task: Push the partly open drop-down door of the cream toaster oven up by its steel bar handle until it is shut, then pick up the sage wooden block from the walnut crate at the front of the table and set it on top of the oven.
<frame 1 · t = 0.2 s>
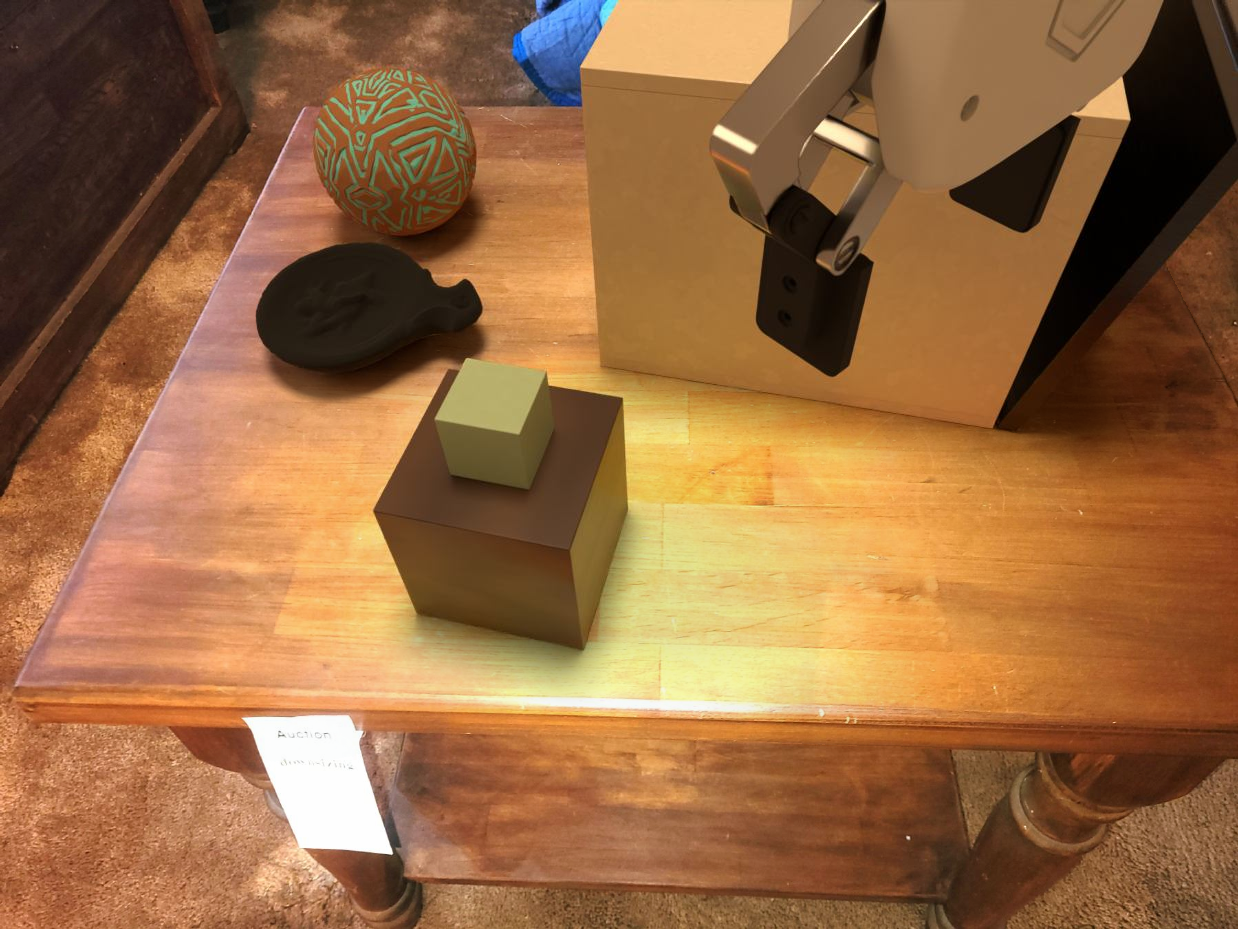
hand: (901, 276, 28), 34 cm above the table, tool pointing down, fingers open, 9 cm apart
oil lamp: (380, 340, 78), on the table
stand: (526, 558, 63), on the table
block: (503, 451, 53), point 12 cm above the table, touching stand
oven: (816, 247, 84), on the table
decorative sphere: (414, 222, 89), on the table
oven door: (1122, 160, 70), point 12 cm above the table, hinge at 12.1°
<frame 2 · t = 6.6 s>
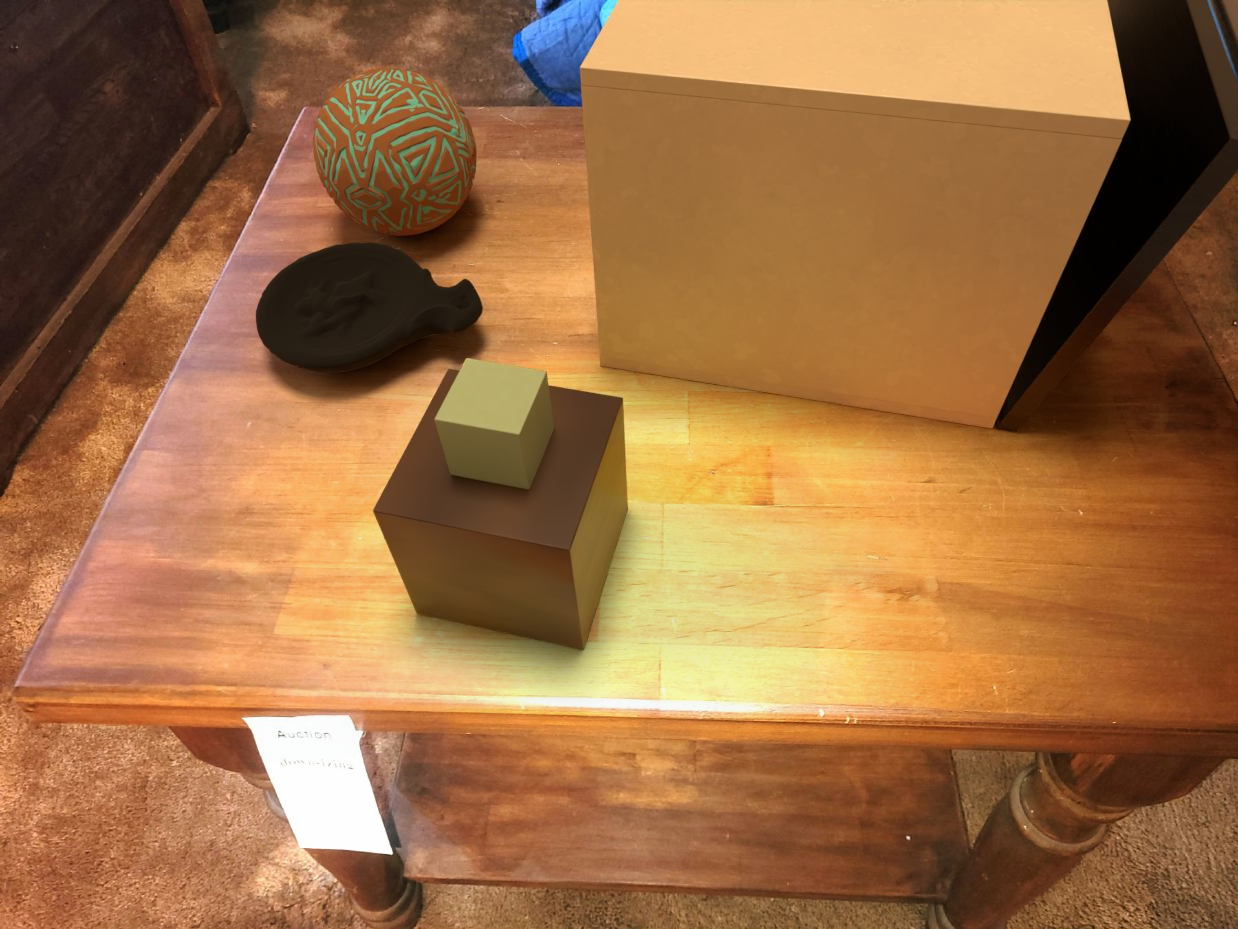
oven door: (1120, 159, 70), point 12 cm above the table, hinge at 11.2°, touching gripper
everything else where it was.
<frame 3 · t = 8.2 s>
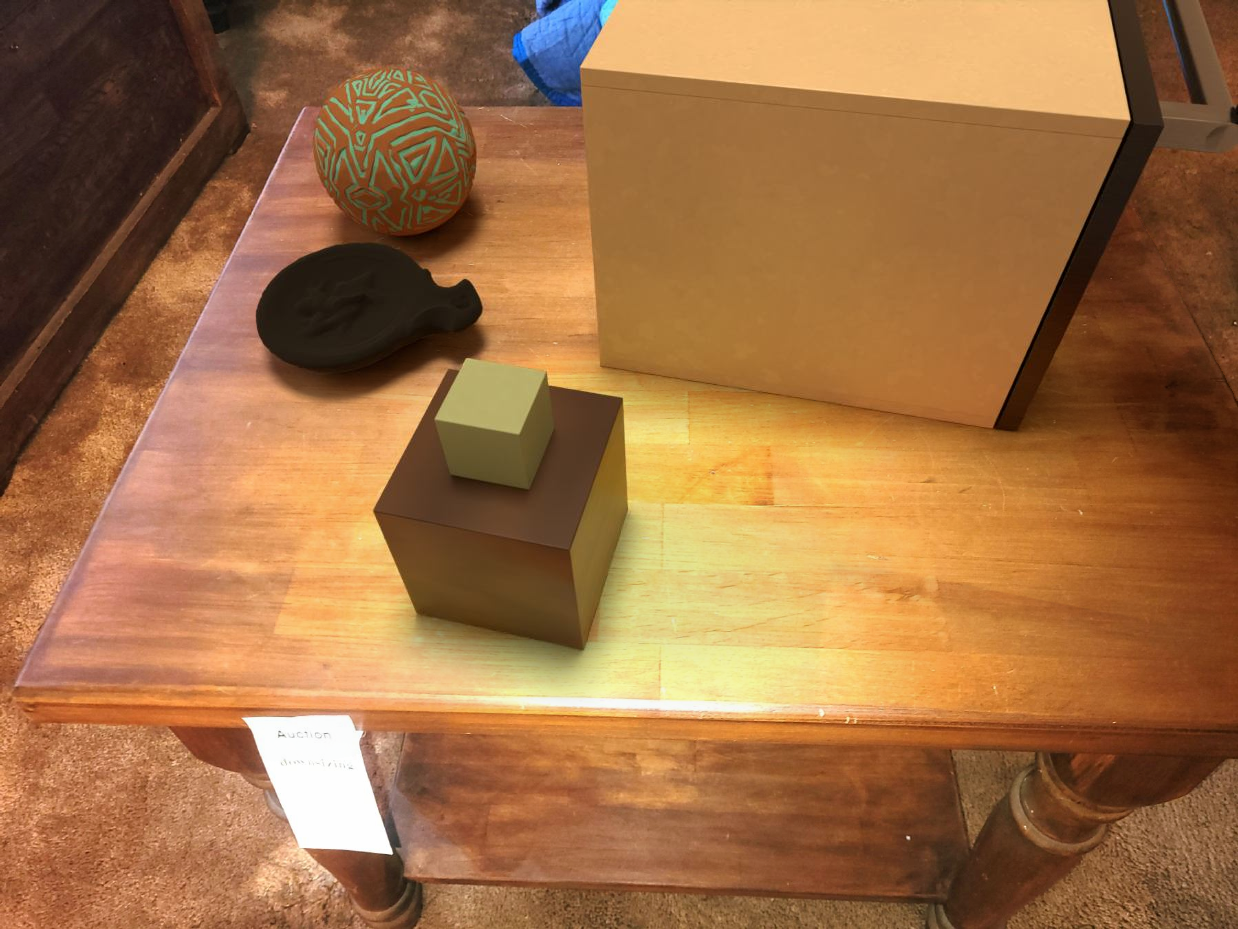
oven door: (1091, 146, 70), point 13 cm above the table, hinge at -0.1°, touching gripper
everything else where it was.
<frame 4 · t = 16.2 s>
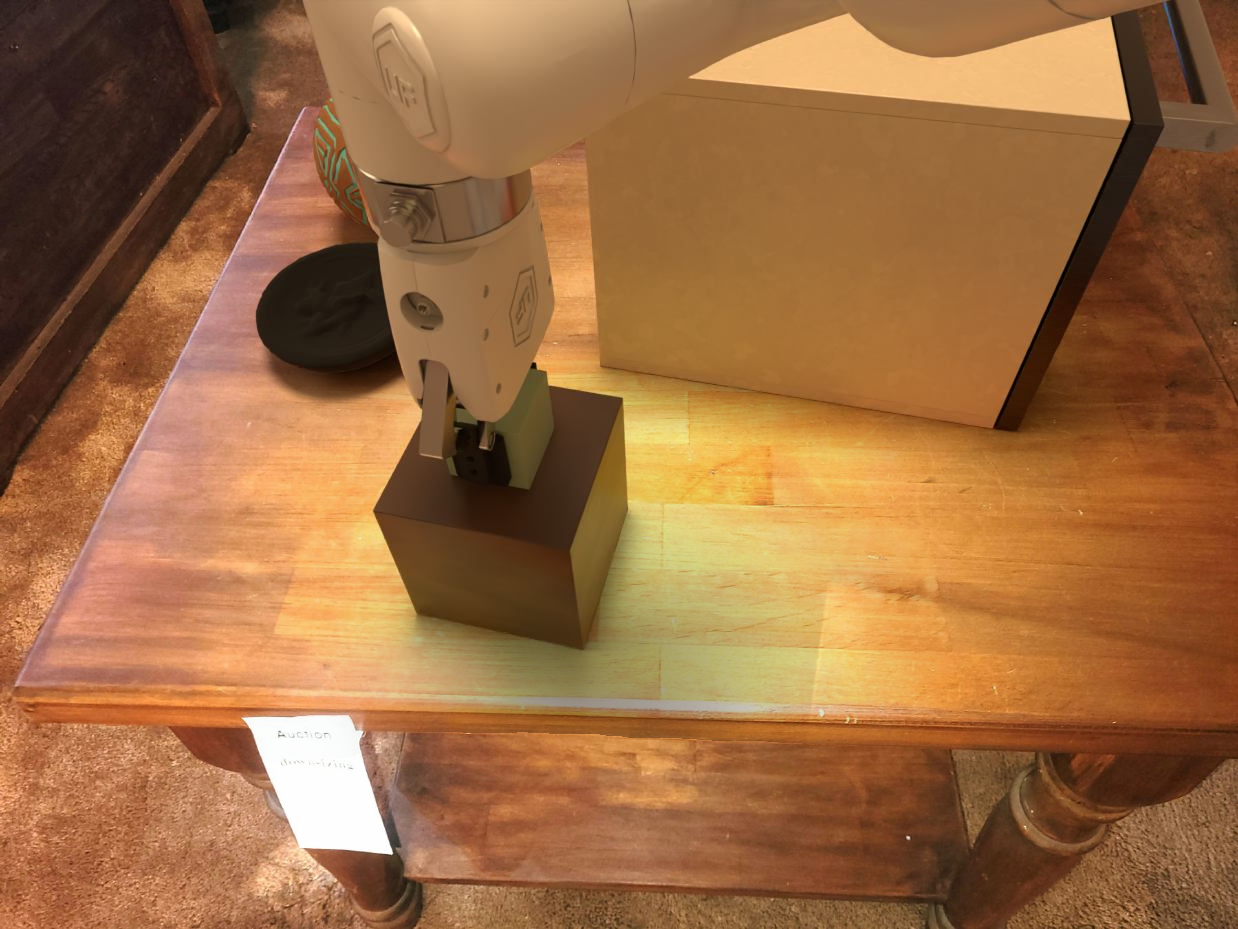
hand: (501, 440, 53), 13 cm above the table, tool pointing down, fingers closed on block, 5 cm apart
block: (503, 451, 53), point 12 cm above the table, touching gripper, stand
oven door: (1091, 146, 70), point 13 cm above the table, hinge at -0.1°
everything else where it was.
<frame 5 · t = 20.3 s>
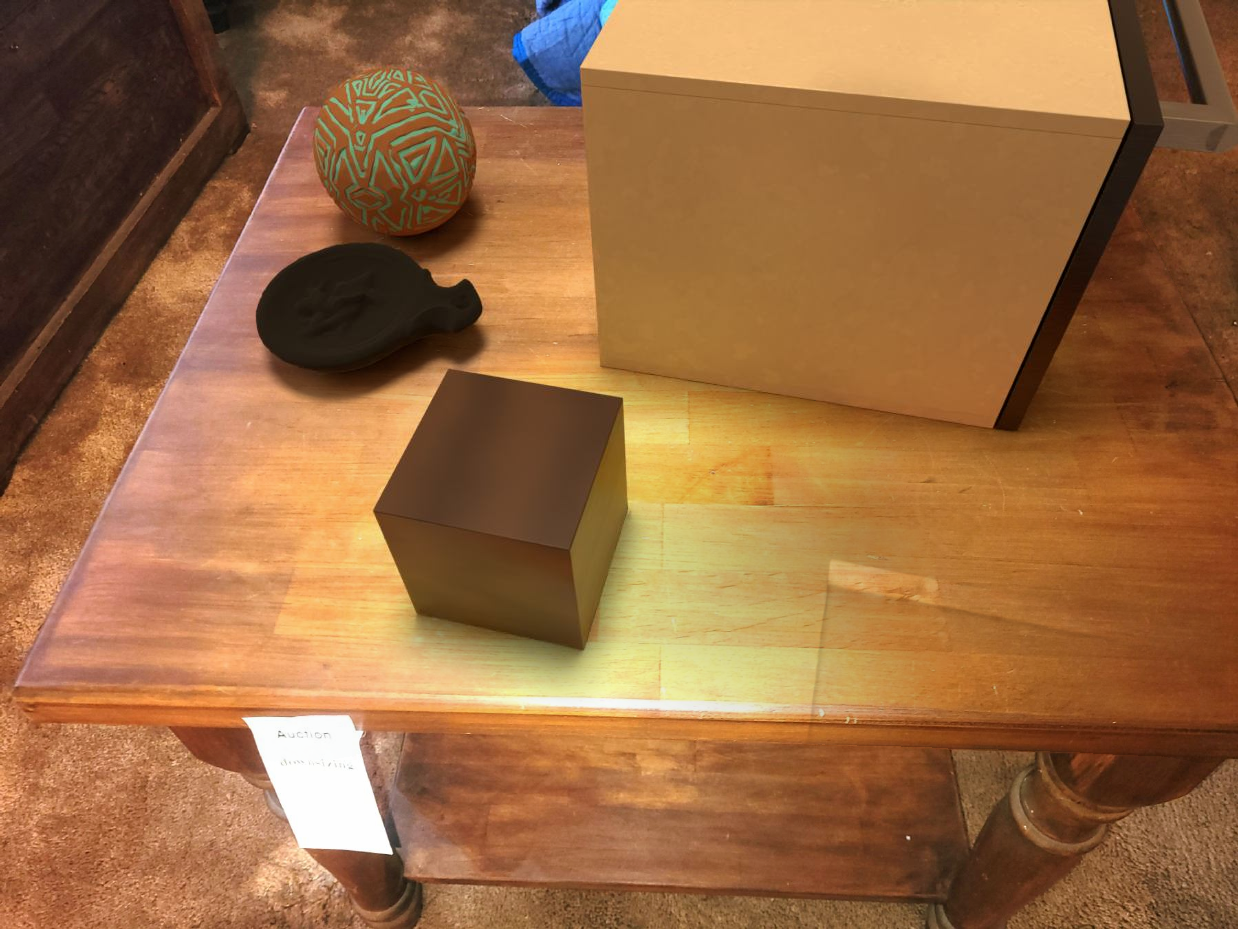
when the fingers open (27 cm above the table, at t = 24.6 s): block stays where it is, resting on oven.
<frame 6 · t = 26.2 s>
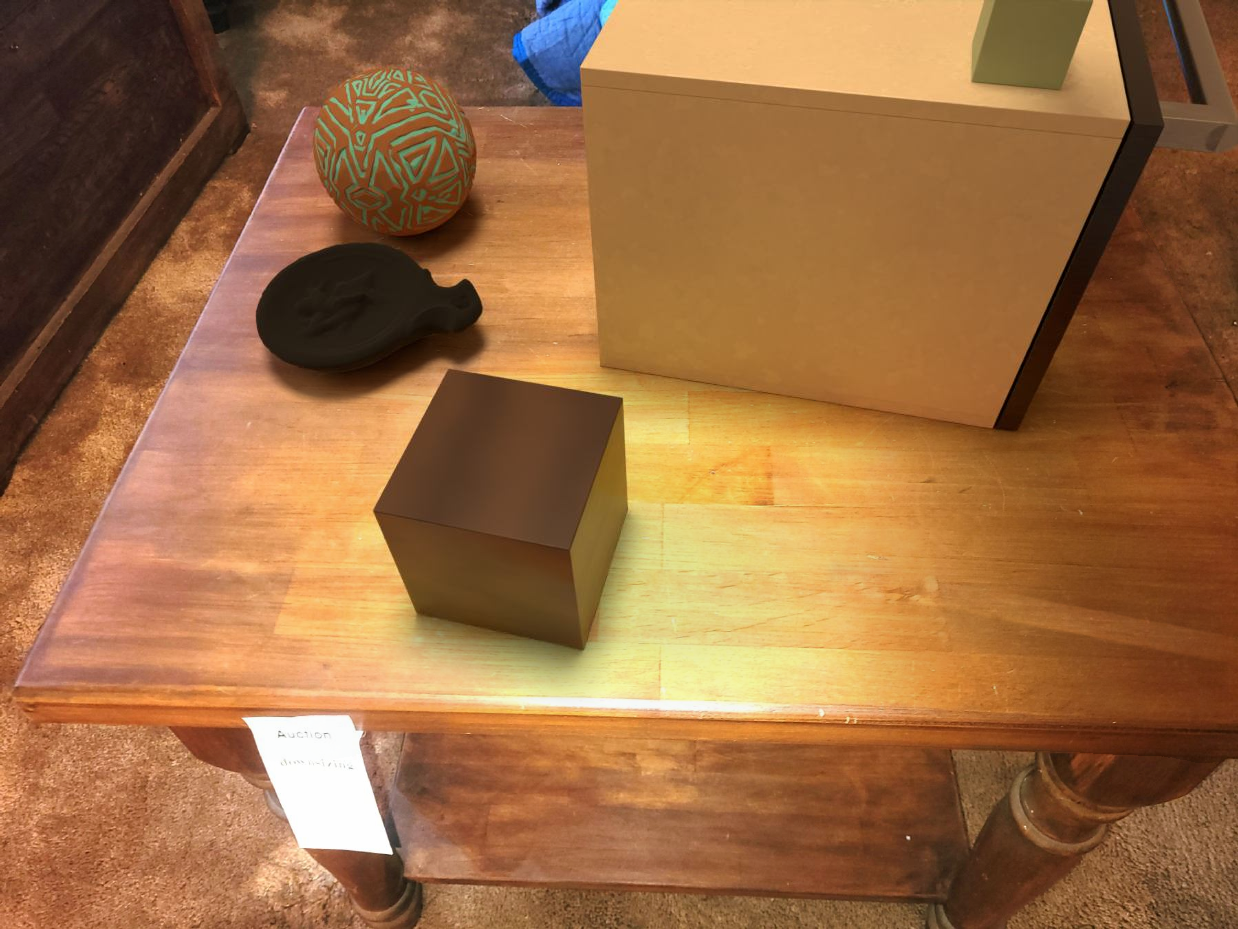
block: (1014, 65, 53), point 26 cm above the table, touching oven
everything else where it was.
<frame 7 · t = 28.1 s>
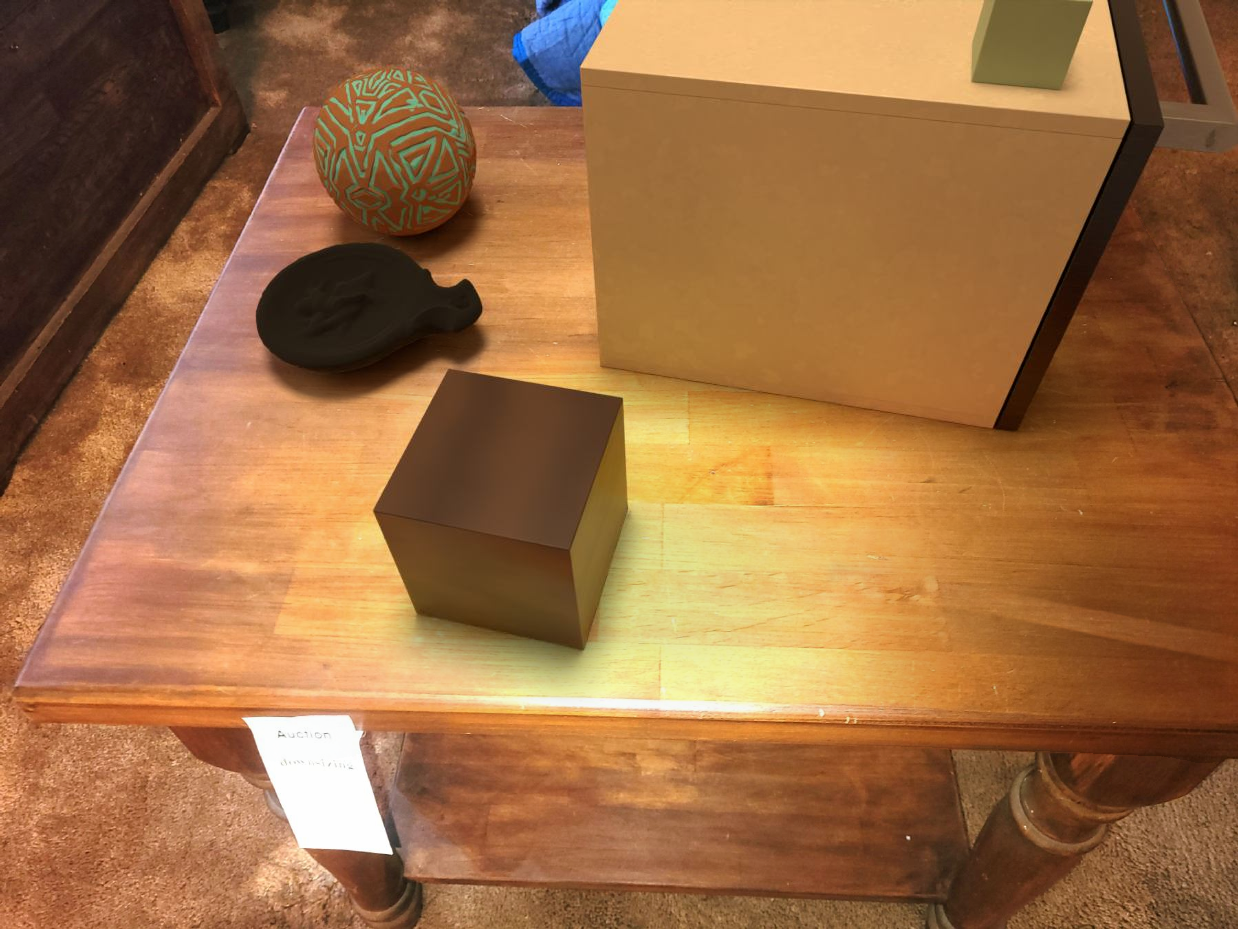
nothing on the table moved.
at the end: oven door at +0° (first picture: +13°); block inside the target area on the oven (17.9 cm from its centre), point 26.0 cm above the oven's base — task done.
